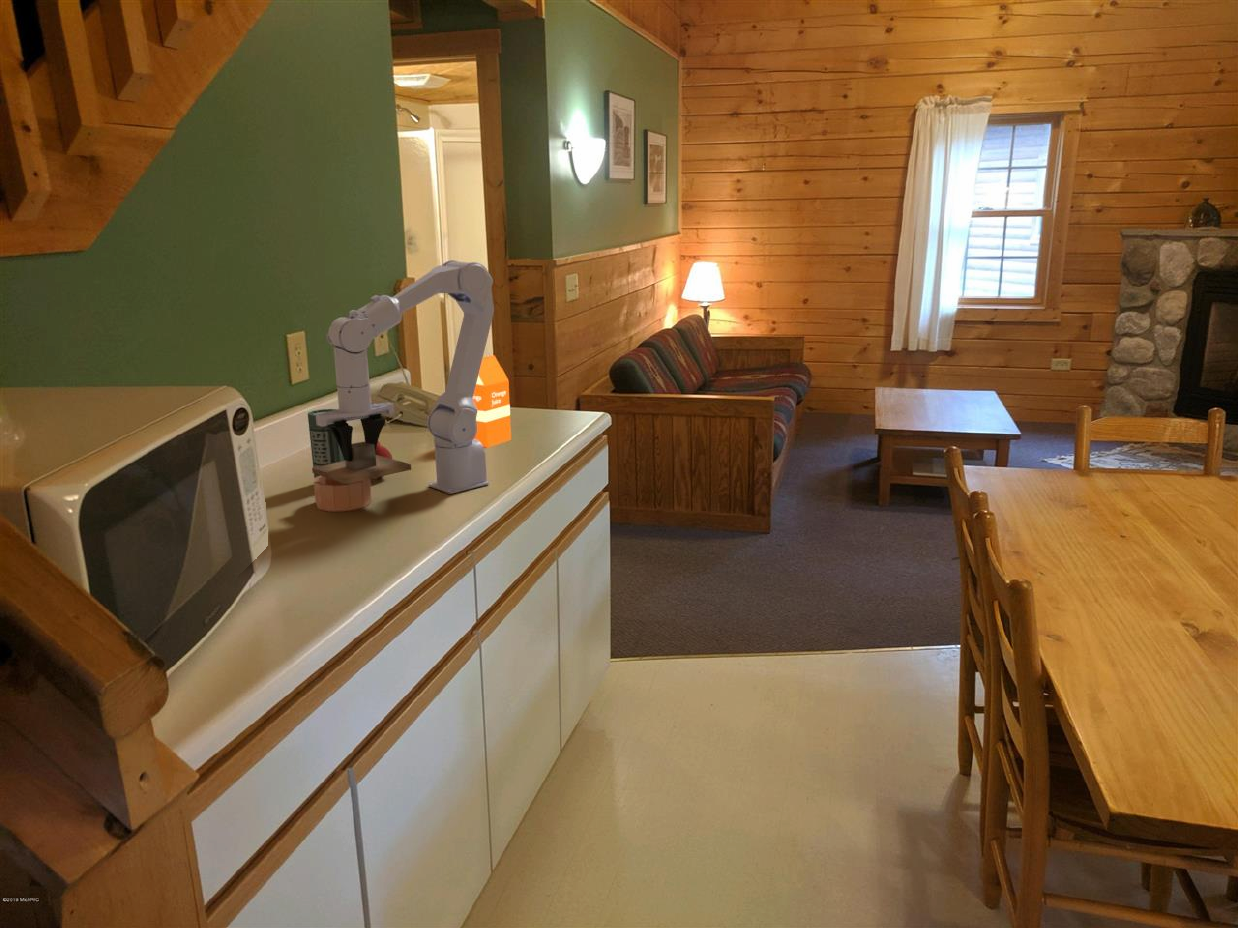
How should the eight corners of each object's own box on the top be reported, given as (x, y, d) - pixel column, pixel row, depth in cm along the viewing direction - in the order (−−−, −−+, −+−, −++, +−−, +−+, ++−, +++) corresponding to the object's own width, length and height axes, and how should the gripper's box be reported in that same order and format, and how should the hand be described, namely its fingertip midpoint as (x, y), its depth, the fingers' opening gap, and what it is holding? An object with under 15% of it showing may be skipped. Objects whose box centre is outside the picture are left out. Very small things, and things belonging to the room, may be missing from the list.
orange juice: (511, 439, 221) (508, 356, 215) (487, 447, 214) (483, 362, 208) (486, 435, 225) (482, 353, 219) (462, 443, 218) (457, 359, 212)
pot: (355, 492, 181) (353, 467, 180) (381, 503, 174) (379, 477, 173) (307, 503, 175) (304, 478, 173) (332, 515, 168) (329, 489, 166)
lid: (375, 459, 179) (372, 434, 178) (411, 469, 170) (408, 443, 169) (312, 472, 170) (309, 446, 169) (346, 484, 161) (343, 456, 160)
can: (353, 481, 188) (346, 409, 184) (336, 490, 182) (329, 416, 178) (327, 479, 190) (319, 408, 186) (309, 488, 184) (302, 414, 180)
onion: (386, 483, 187) (382, 445, 184) (359, 482, 188) (356, 444, 186) (398, 475, 192) (395, 438, 190) (372, 474, 193) (369, 437, 191)
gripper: (377, 377, 174) (383, 446, 177) (305, 387, 164) (312, 461, 168) (397, 381, 169) (403, 453, 172) (323, 393, 159) (331, 468, 163)
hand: (359, 457), depth 170 cm, fingers closed on lid, 4 cm apart
